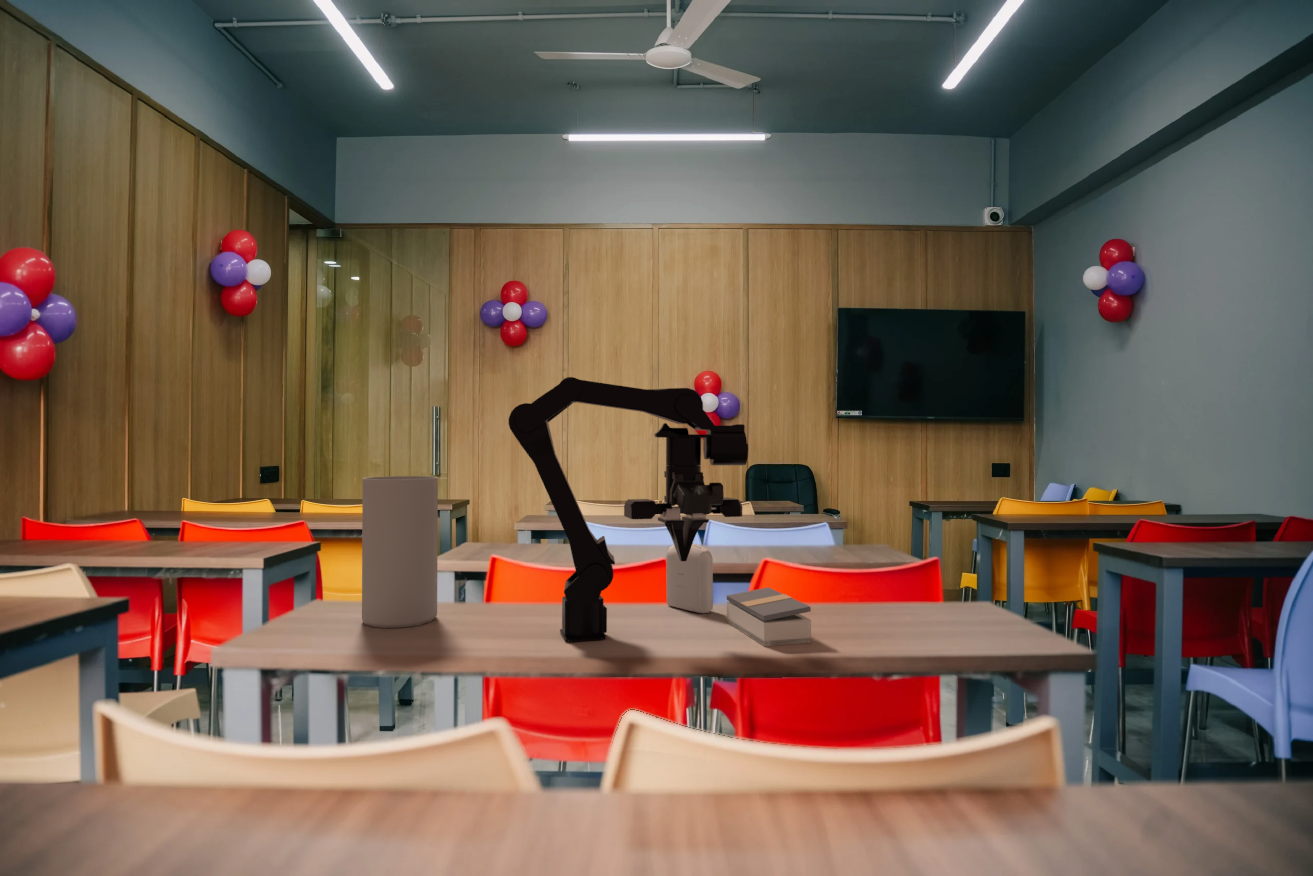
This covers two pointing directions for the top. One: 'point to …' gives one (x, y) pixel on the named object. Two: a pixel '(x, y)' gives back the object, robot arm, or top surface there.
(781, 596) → the flap lid
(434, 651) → the top surface
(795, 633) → the storage box
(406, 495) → the cylinder vase
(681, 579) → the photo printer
